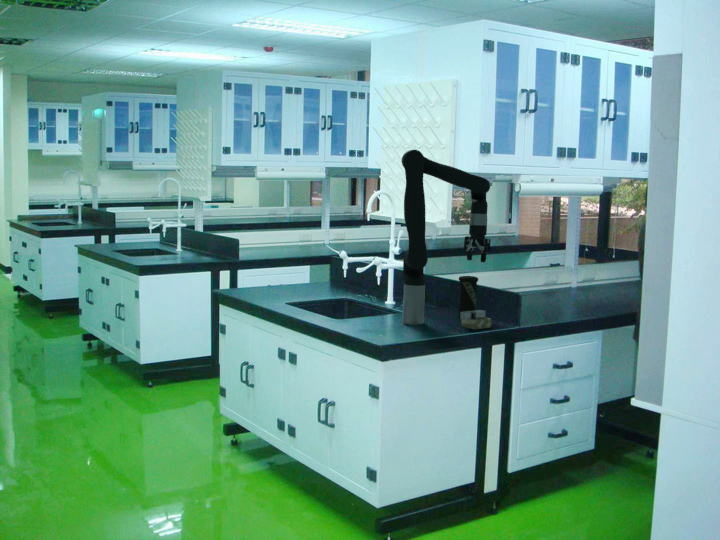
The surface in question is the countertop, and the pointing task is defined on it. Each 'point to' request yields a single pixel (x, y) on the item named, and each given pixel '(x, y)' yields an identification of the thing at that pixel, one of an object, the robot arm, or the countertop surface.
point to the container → (467, 294)
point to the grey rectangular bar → (469, 314)
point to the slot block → (476, 322)
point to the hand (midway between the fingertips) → (476, 261)
